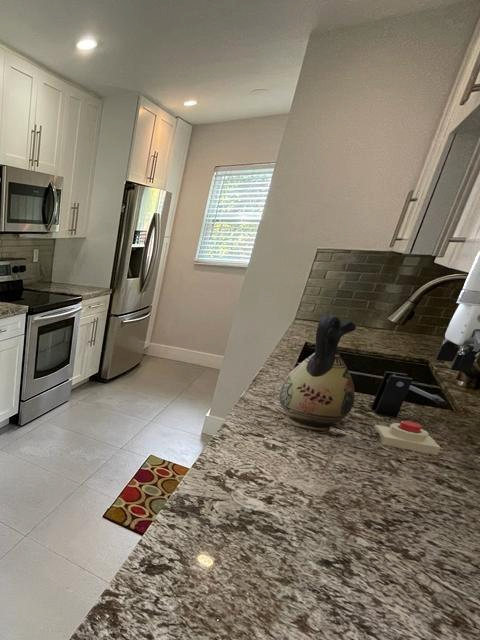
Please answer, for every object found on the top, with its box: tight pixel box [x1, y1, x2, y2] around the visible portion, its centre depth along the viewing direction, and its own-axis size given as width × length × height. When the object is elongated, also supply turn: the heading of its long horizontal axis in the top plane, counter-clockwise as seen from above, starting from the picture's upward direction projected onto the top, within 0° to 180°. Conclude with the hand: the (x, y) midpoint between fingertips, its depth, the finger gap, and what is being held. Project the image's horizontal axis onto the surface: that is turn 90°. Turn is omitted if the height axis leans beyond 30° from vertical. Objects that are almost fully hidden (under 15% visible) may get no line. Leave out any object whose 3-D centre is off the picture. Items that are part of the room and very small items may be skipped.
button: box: [399, 420, 423, 433], centre depth 101 cm, size 4×4×2 cm
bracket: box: [370, 371, 414, 418], centre depth 115 cm, size 12×10×13 cm
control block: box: [373, 422, 442, 456], centre depth 102 cm, size 10×8×4 cm
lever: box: [387, 374, 447, 407], centre depth 112 cm, size 12×6×2 cm, turn 60°
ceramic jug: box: [278, 315, 357, 433], centre depth 107 cm, size 17×15×30 cm
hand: (451, 365), depth 105 cm, fingers open, 9 cm apart
